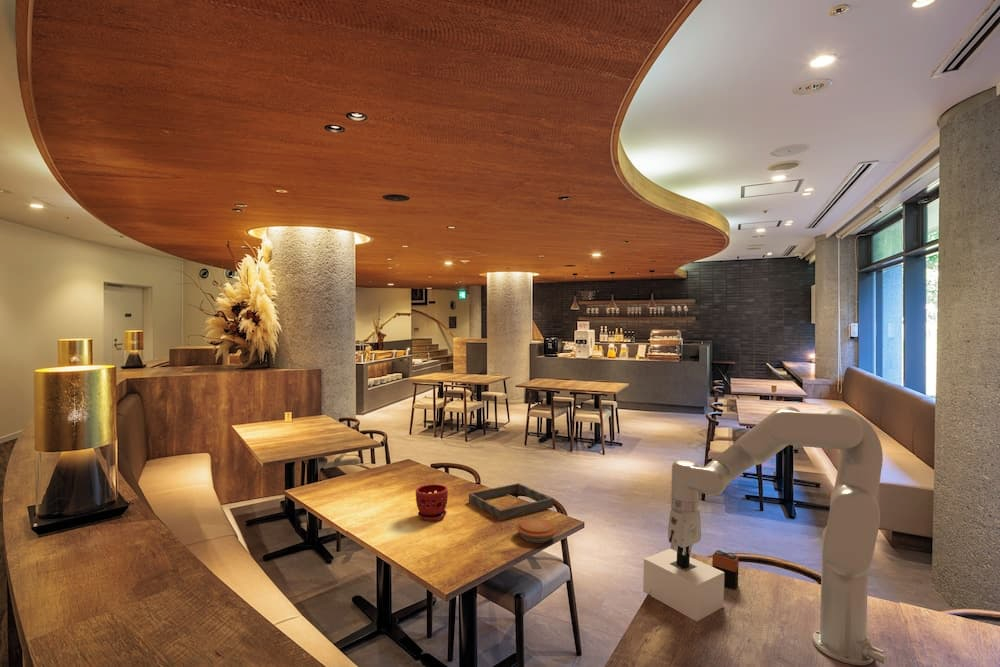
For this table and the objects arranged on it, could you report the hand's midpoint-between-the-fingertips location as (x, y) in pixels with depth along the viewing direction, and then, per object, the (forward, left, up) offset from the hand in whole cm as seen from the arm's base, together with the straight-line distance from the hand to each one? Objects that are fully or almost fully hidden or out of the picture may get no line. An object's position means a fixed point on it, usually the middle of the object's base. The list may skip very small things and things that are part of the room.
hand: (682, 566), depth 145 cm
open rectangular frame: (+89, -2, -10) cm, 89 cm away
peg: (0, 0, -8) cm, 8 cm away
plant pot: (+95, +34, -10) cm, 101 cm away
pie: (+57, +9, -10) cm, 59 cm away
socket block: (0, 0, -10) cm, 10 cm away
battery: (-2, -19, -10) cm, 22 cm away
